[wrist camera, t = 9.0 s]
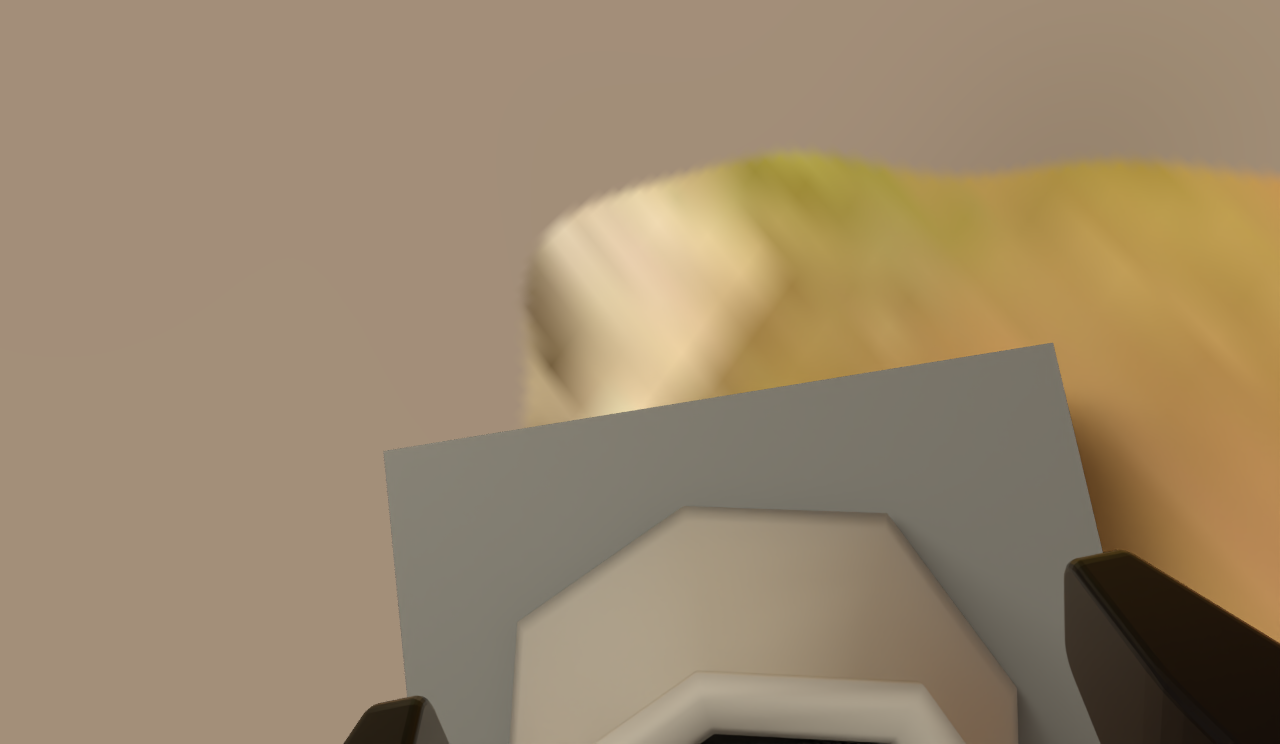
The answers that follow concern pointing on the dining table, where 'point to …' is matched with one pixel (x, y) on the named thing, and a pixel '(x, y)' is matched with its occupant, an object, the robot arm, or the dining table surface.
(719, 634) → the flask
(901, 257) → the dining table surface
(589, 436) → the dock
